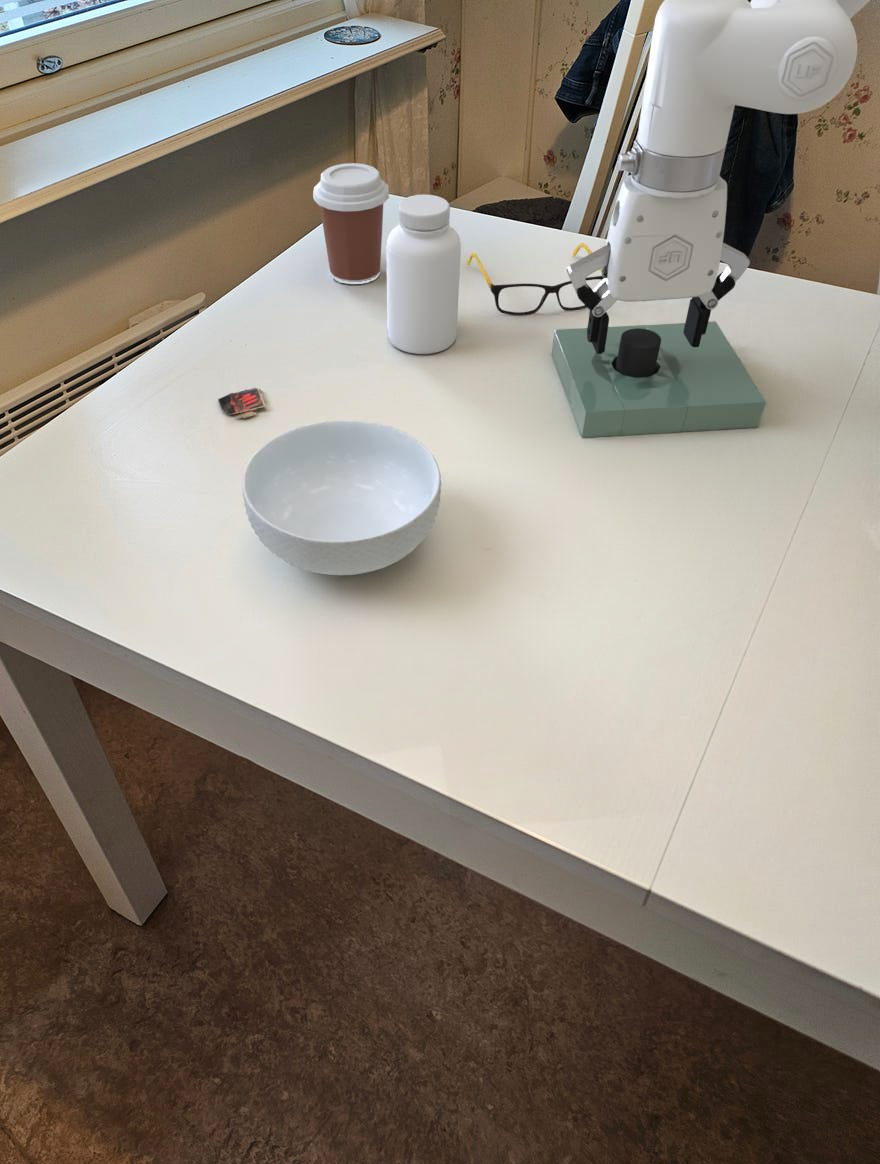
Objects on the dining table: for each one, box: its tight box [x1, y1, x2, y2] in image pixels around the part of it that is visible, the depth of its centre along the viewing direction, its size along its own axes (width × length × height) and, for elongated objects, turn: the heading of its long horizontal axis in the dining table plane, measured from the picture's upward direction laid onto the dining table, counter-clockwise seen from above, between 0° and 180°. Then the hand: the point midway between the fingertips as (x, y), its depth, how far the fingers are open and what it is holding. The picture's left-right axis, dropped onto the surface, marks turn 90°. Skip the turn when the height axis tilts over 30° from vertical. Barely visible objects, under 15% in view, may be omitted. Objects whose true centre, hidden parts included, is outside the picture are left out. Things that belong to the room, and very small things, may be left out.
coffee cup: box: [312, 162, 390, 282], centre depth 110 cm, size 9×9×12 cm
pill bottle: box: [385, 194, 462, 355], centre depth 98 cm, size 8×8×15 cm
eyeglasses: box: [466, 243, 603, 316], centre depth 110 cm, size 14×14×4 cm
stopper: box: [615, 328, 661, 378], centre depth 93 cm, size 4×4×6 cm
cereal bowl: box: [241, 419, 442, 576], centre depth 77 cm, size 17×17×7 cm
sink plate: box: [551, 321, 767, 439], centre depth 94 cm, size 18×16×3 cm
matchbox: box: [217, 387, 266, 420], centre depth 94 cm, size 5×5×1 cm
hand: (644, 343), depth 91 cm, fingers open, 9 cm apart
